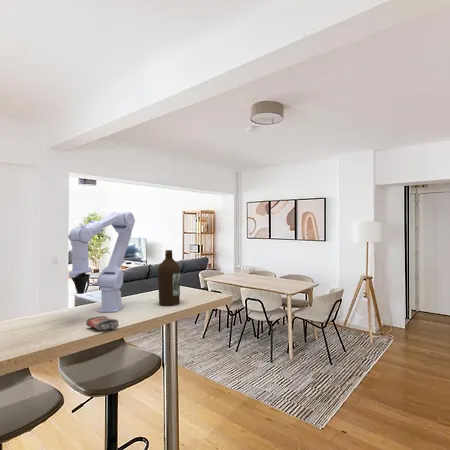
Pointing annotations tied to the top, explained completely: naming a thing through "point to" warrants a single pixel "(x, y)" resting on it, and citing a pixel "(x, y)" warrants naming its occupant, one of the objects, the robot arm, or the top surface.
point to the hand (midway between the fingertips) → (80, 293)
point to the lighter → (102, 323)
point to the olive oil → (169, 281)
